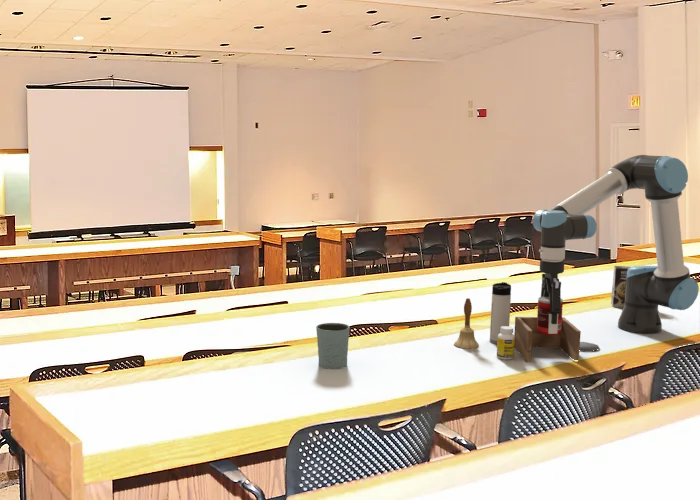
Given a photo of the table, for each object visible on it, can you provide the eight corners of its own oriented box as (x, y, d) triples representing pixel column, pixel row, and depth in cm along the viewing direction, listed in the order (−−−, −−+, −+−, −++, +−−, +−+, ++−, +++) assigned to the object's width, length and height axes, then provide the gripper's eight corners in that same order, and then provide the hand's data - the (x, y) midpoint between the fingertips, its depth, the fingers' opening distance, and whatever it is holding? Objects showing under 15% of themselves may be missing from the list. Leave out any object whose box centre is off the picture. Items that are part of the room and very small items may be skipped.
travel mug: (510, 340, 296) (513, 283, 293) (505, 345, 290) (508, 286, 287) (492, 338, 298) (495, 281, 295) (487, 342, 292) (490, 284, 289)
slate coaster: (593, 343, 294) (593, 341, 294) (602, 351, 284) (603, 350, 284) (564, 343, 294) (564, 341, 294) (572, 351, 284) (572, 349, 284)
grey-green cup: (337, 371, 256) (338, 332, 254) (309, 365, 262) (309, 327, 260) (355, 363, 265) (356, 325, 263) (327, 358, 270) (328, 320, 268)
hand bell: (478, 349, 284) (480, 302, 281) (452, 347, 285) (454, 300, 283) (479, 343, 292) (481, 296, 289) (454, 341, 293) (456, 295, 291)
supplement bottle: (503, 360, 272) (505, 330, 270) (493, 356, 276) (494, 326, 275) (517, 358, 274) (519, 328, 273) (506, 354, 279) (508, 324, 277)
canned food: (559, 329, 281) (561, 296, 279) (562, 336, 273) (564, 301, 272) (535, 328, 282) (536, 295, 280) (538, 335, 274) (539, 301, 272)
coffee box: (612, 307, 351) (615, 268, 349) (610, 303, 358) (613, 265, 355) (636, 308, 350) (639, 269, 347) (633, 305, 356) (636, 266, 354)
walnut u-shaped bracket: (562, 346, 290) (564, 317, 288) (578, 362, 272) (580, 331, 270) (513, 346, 289) (515, 316, 287) (526, 361, 271) (528, 330, 269)
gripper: (532, 254, 284) (529, 321, 288) (549, 266, 263) (545, 338, 267) (555, 254, 284) (552, 321, 288) (573, 265, 264) (570, 338, 268)
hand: (549, 329), depth 278 cm, fingers closed on canned food, 8 cm apart
